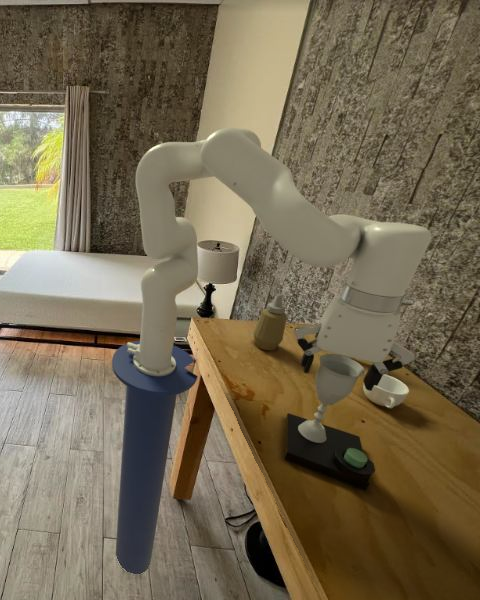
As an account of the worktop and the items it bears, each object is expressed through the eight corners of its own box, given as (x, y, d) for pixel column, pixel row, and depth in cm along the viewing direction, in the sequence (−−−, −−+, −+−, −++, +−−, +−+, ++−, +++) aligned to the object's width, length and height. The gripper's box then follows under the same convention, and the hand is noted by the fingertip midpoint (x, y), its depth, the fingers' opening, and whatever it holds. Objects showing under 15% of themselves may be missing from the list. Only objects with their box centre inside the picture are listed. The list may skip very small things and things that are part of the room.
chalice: (301, 415, 72) (327, 349, 64) (337, 434, 67) (370, 366, 59) (287, 430, 68) (313, 363, 60) (323, 452, 63) (356, 381, 55)
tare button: (344, 463, 59) (348, 457, 59) (342, 451, 62) (346, 445, 61) (365, 471, 58) (369, 464, 57) (362, 458, 60) (366, 452, 59)
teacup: (355, 385, 84) (363, 369, 81) (393, 394, 80) (402, 378, 78) (365, 411, 76) (374, 393, 73) (408, 422, 72) (418, 404, 70)
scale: (284, 460, 64) (289, 447, 62) (285, 419, 74) (289, 406, 72) (369, 494, 58) (378, 479, 56) (358, 444, 67) (365, 431, 66)
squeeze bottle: (279, 355, 96) (296, 302, 88) (249, 348, 100) (263, 296, 92) (279, 342, 102) (295, 292, 94) (251, 336, 106) (264, 287, 98)
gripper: (432, 300, 52) (389, 381, 60) (308, 280, 61) (283, 354, 68) (449, 319, 47) (399, 406, 54) (309, 295, 55) (282, 373, 62)
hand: (335, 377), depth 61 cm, fingers open, 9 cm apart
